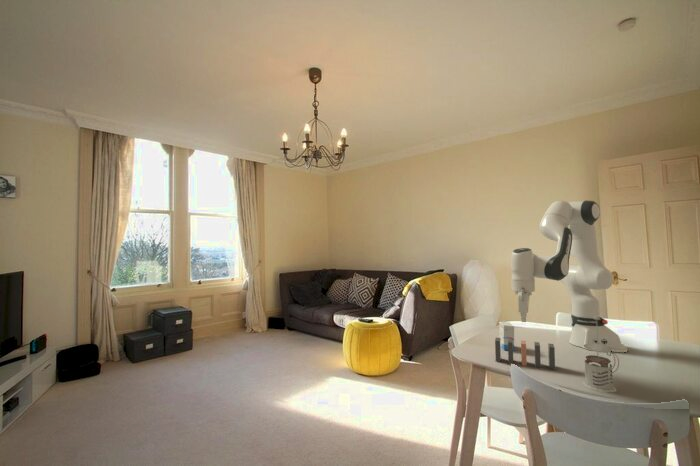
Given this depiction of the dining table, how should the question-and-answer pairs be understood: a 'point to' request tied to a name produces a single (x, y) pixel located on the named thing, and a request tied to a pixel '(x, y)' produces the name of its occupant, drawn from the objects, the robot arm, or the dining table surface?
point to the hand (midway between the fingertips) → (524, 319)
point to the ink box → (506, 334)
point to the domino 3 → (523, 353)
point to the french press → (599, 368)
